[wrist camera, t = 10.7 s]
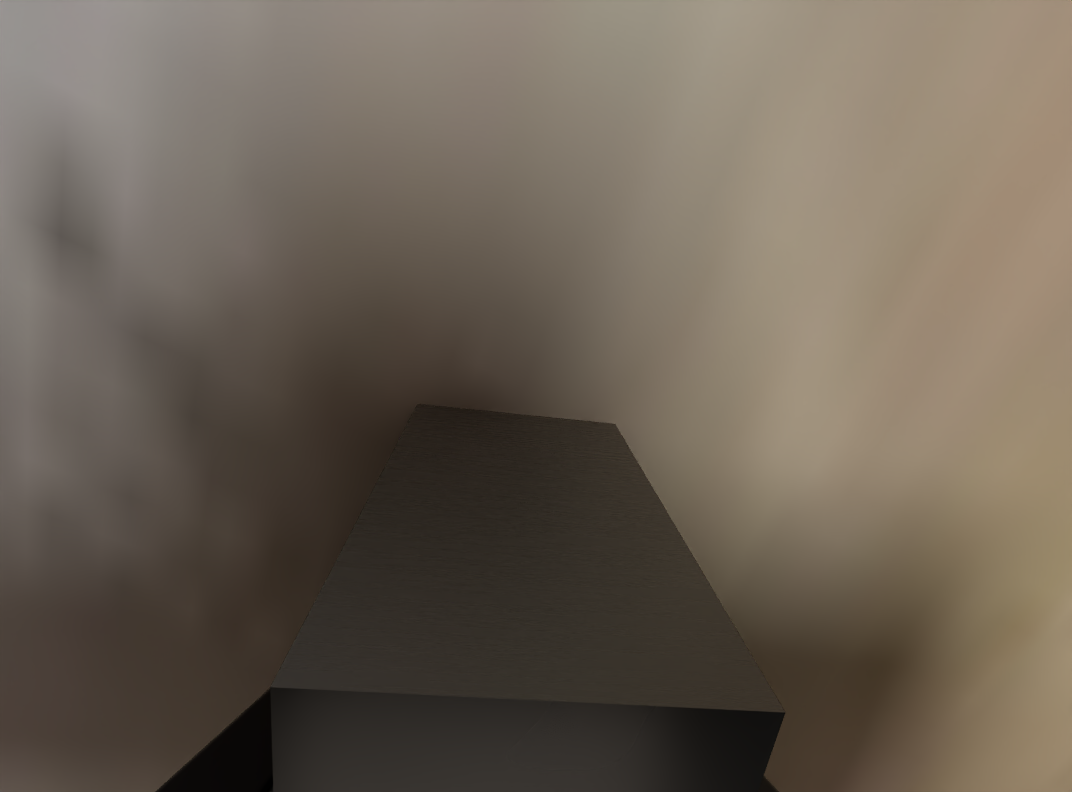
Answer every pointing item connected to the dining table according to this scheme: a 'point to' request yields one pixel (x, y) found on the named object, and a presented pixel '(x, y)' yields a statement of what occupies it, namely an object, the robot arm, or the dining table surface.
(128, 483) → the dining table surface
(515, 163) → the dining table surface
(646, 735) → the blade tool
